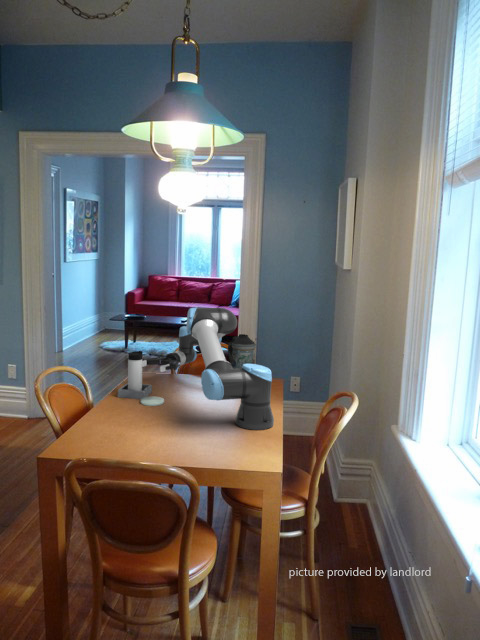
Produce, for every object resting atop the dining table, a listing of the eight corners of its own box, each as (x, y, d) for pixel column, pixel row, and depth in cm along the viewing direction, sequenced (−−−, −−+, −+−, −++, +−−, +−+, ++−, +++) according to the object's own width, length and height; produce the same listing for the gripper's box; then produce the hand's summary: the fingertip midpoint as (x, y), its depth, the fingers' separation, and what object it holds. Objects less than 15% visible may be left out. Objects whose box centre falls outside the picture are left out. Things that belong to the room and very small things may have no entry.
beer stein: (250, 389, 246) (252, 339, 242) (215, 383, 254) (217, 335, 250) (263, 382, 261) (265, 335, 257) (229, 377, 269) (231, 330, 265)
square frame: (143, 399, 223) (143, 391, 222) (117, 397, 224) (117, 389, 224) (151, 392, 235) (152, 384, 234) (127, 390, 236) (127, 382, 236)
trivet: (160, 406, 214) (160, 404, 214) (137, 404, 215) (137, 402, 215) (166, 400, 224) (166, 397, 223) (145, 398, 225) (145, 395, 225)
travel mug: (145, 394, 230) (145, 352, 227) (133, 397, 225) (133, 353, 222) (137, 391, 234) (137, 349, 231) (125, 394, 229) (125, 351, 226)
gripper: (195, 370, 250) (170, 379, 231) (155, 363, 261) (127, 371, 243) (195, 355, 249) (170, 363, 230) (155, 349, 260) (128, 355, 242)
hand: (148, 367), depth 236 cm, fingers open, 13 cm apart
